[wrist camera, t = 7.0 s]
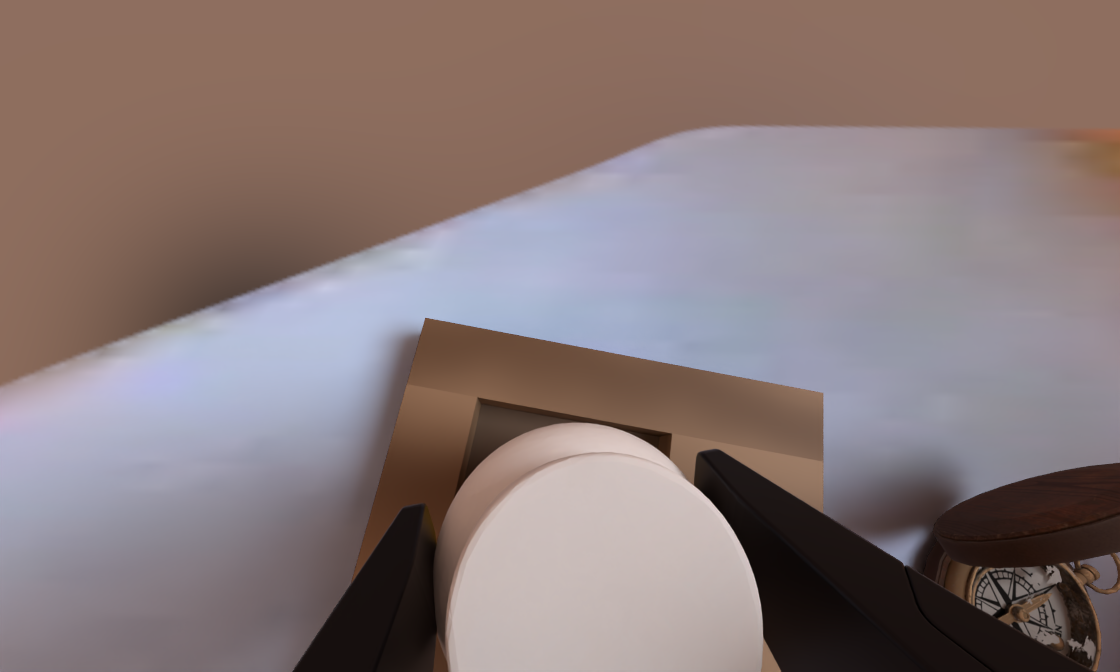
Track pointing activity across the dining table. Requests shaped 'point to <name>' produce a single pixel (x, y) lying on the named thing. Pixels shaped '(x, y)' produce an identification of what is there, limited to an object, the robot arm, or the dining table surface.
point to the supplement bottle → (591, 563)
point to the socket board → (579, 419)
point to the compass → (1035, 554)
